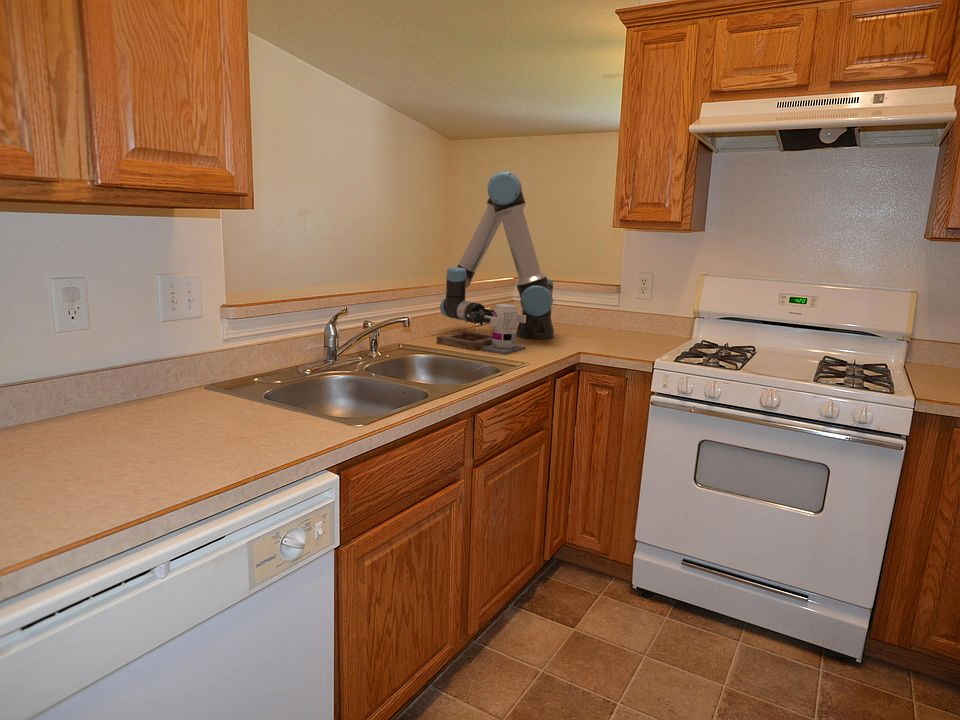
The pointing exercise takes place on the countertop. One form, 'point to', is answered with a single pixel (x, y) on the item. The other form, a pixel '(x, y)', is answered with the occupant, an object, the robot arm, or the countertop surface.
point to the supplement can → (505, 326)
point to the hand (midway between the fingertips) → (511, 320)
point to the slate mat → (502, 351)
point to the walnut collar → (465, 340)
